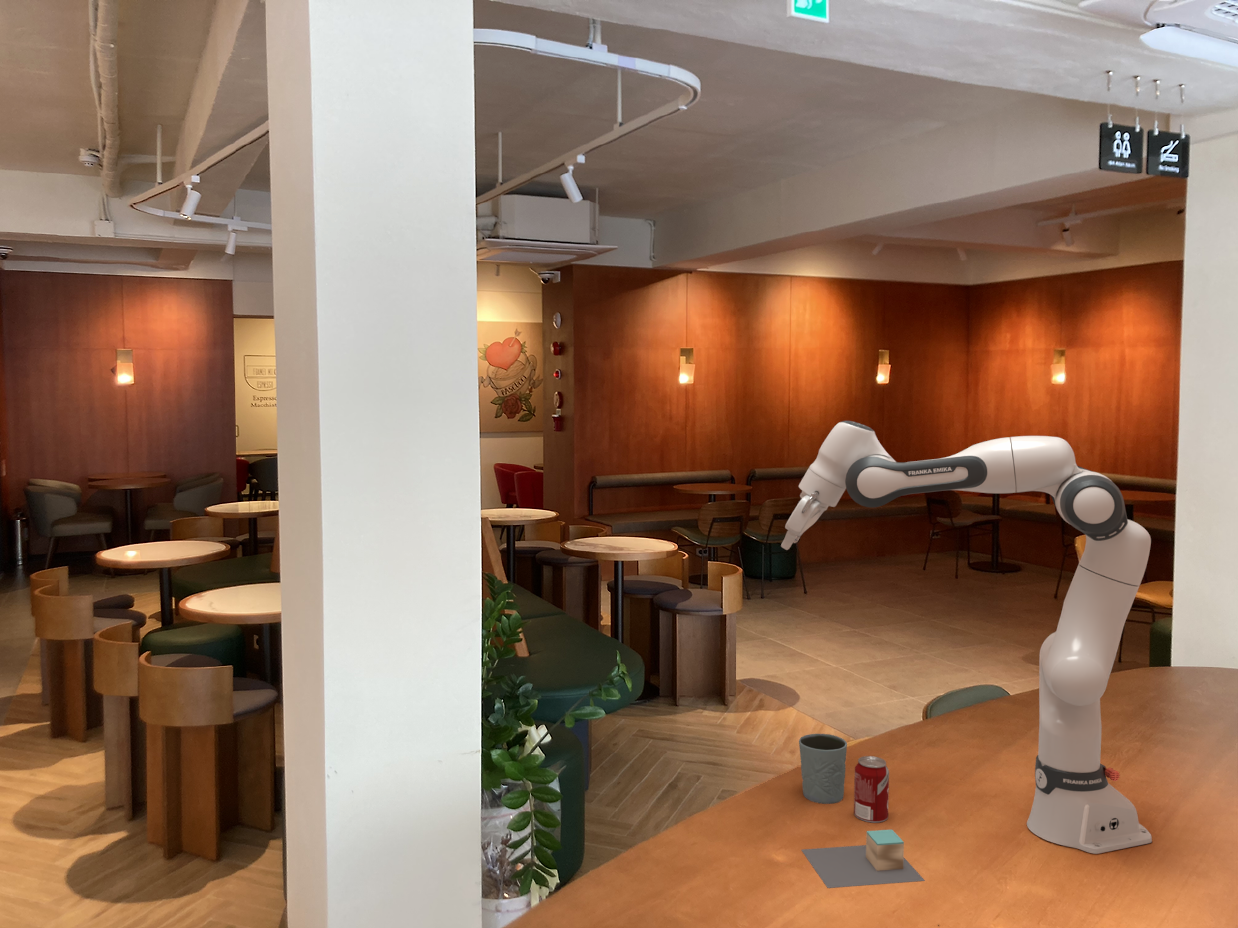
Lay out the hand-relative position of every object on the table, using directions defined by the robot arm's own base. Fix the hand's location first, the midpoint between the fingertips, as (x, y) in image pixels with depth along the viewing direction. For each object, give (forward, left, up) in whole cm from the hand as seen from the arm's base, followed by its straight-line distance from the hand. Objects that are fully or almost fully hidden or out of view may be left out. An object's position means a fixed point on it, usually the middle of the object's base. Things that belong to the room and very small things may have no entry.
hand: (788, 544), depth 202 cm
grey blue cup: (-7, +4, -55) cm, 55 cm away
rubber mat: (-3, +35, -54) cm, 65 cm away
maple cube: (-8, +35, -54) cm, 64 cm away
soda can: (-13, +16, -55) cm, 58 cm away
